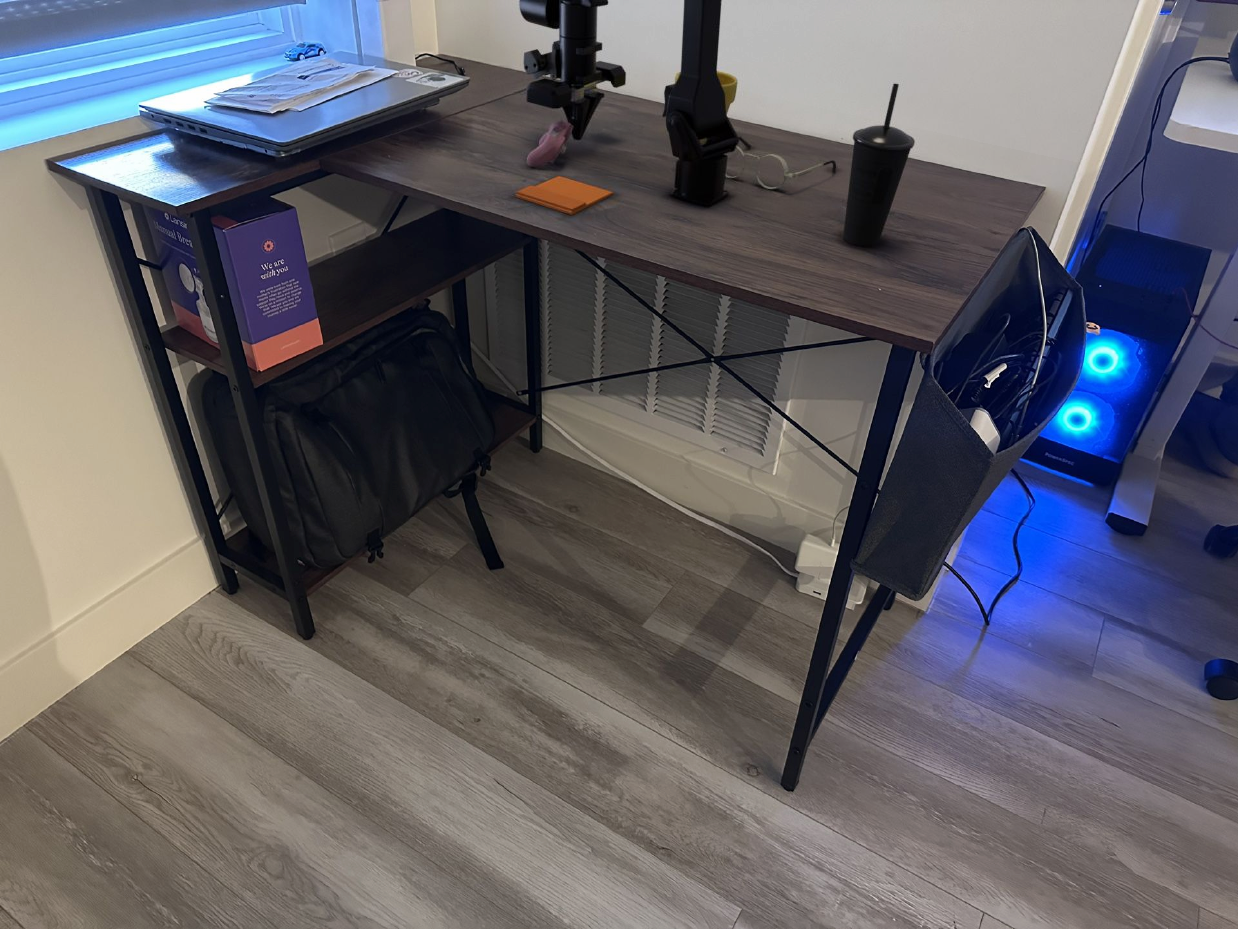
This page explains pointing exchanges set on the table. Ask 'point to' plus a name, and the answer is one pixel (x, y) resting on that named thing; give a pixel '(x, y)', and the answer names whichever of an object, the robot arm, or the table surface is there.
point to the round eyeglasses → (781, 163)
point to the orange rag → (563, 195)
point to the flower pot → (728, 86)
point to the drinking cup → (874, 178)
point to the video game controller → (551, 144)
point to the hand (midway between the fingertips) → (577, 139)
